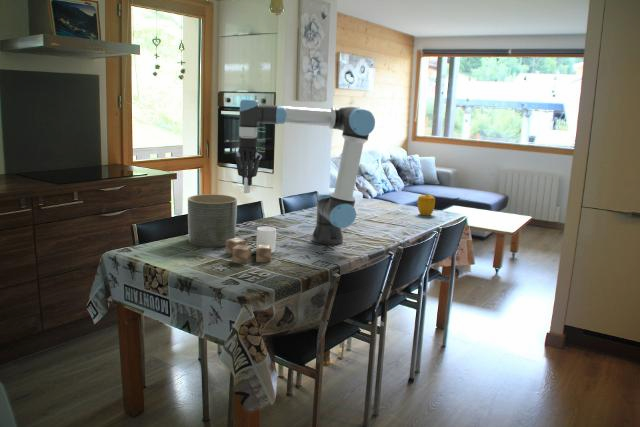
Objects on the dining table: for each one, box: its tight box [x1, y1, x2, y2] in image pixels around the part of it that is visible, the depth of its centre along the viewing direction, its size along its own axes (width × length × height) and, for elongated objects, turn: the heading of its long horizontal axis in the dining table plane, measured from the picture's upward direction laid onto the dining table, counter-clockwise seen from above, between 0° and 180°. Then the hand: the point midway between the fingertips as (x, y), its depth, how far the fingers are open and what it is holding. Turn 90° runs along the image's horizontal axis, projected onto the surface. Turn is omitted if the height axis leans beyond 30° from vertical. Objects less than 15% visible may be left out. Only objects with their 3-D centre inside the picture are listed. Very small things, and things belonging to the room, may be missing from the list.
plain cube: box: [232, 245, 252, 265], centre depth 226 cm, size 6×6×6 cm
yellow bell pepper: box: [417, 194, 436, 217], centre depth 338 cm, size 11×11×13 cm
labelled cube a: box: [225, 237, 247, 256], centre depth 237 cm, size 6×6×6 cm
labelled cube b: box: [255, 244, 272, 263], centre depth 229 cm, size 6×6×6 cm
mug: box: [255, 225, 277, 254], centre depth 243 cm, size 12×8×10 cm
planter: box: [187, 193, 238, 248], centre depth 252 cm, size 22×22×20 cm
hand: (246, 192), depth 234 cm, fingers closed
